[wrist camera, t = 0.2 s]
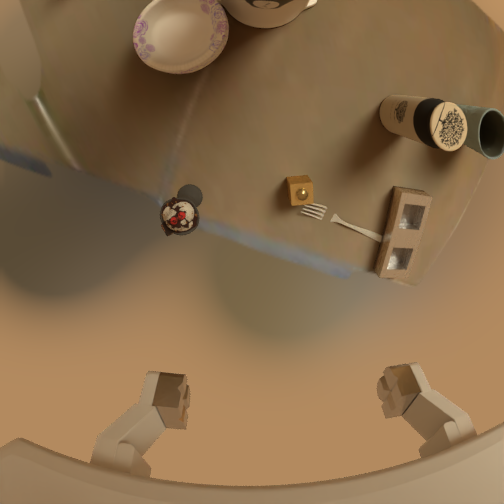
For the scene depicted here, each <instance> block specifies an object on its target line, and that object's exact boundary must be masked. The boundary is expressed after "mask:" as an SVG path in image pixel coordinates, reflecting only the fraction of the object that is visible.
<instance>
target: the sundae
mask: <svg viewBox="0 0 504 504" xmlns="http://www.w3.org/2000/svg"><path fill="white" fill-rule="evenodd" d="M202 198H203V197H202V192H201V191H200V189H199V188H198V187H196V186H194V185H185V186H183V187H182V188H181V189H180V190H179V191H178V198H175V197H173V198H172V199H170V200H168V201H166V202H165V203H164V204H163V206H162V208H161V211H160V219H161V222H162V225H161V227H162V229H163V230H164V232H165V233H166V235H167V236H169V235H171V234H173V233H174V234H177V235H186V234H189V233H191V232H192V231H194V230H195V229H196V227H197V226H198V224H199V213H198V210H197V208H196V207H197V206H199V205H200V203H201V202H202Z"/></svg>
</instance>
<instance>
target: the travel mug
mask: <svg viewBox="0 0 504 504" xmlns="http://www.w3.org/2000/svg"><path fill="white" fill-rule="evenodd" d="M380 119H381V122H382V124H383V125H384V127H385V128H386V129H387V130H388V131H390V132H392V133H395V134H398V135H401V136H404V137H407V138H409V139H412V140H415V141H418V142H420V143H423V144H426V145H428V146H431V147H433V148H441V149H443V150H445V151H454V150H457V149H458V148H460V147H461V145H462V144H463V143H464V141H465V138H466V135H467V121H466V118H465V115H464V113H463V112H462V110H461V109H460V108H459V107H458V106H457V105H455V104H454V103H451V102H445V101H443V100H440V99H434V98H426V97H416V96H405V95H391V96H388V97H387V98H385V99H384V101H383V102H382V104H381V106H380Z"/></svg>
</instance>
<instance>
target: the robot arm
mask: <svg viewBox="0 0 504 504" xmlns="http://www.w3.org/2000/svg"><path fill="white" fill-rule="evenodd" d="M217 1H218V2H219V3H220V4H222V5H223V6H224V7H225V8H226V10H227V11H228V12H229V13H230V15H231V16H233V17H234V18H235V19H236V20H238V21H239V22H241V23H243V24H246V25H249V26H252V27H257V28H273V27H278V26H282V25H284V24H287V23H289V22H290V21H292V20H293V19H294V18H296V17H297V16H298V15H299V13H300V12H302V11H303V10H305V9H308V8H310V7H313V6H314V5H315V4H316V2H317V0H217ZM383 373H384V376H383V377H381V378H380V379H379V381H378V383H377V393H378V397H379V399H380V400H382V401H383V404H382V409H383V412H384V415H385V418H392V417H397V416H402V417H403V418H404V419H405V420H406V421H407V422H408V423H409V424H410V425H411V426H412V427H413V428H414V429H415V430H416V431H417V432H418V433H419V434H420V435H421V436H422V437H423V438H424V439H425V440H426V442H425V443H424V444H423V445H422V446H421V447H420V448H419V452H420V456H421V458H420V459H417V460H414V461H410V462H407V463H404V464H400V465H397V466H393V467H390V468H386V469H382V470H378V471H374V472H369V473H365V474H360V475H355V476H350V477H344V478H338V479H332V480H326V481H318V482H310V483H300V484H288V485H271V486H223V485H206V484H194V483H184V482H176V481H169V480H162V479H156V478H150V473H151V467H150V466H149V465H148V464H147V462H146V461H145V460H144V459H143V458H142V456H143V455H144V453H145V452H146V451H147V450H148V449H149V448H150V446H151V445H152V444H153V443H154V442H155V441H156V439H158V437H159V436H160V435H161V434H162V433H163V432H164V431H165V429H166V428H174V429H186V426H187V419H188V414H187V411H186V409H187V408H188V407H189V404H190V389H189V386H188V385H187V377H186V375H185V374H174V373H164V372H156V371H148V373H147V374H146V378H145V381H144V385H143V389H142V392H141V396H140V400H139V404H134V405H133V406H132V407H131V408H130V409H128V410H127V411H126V412H125V413H124V414H123V415H121V416H120V417H119V418H118V419H117V420H116V421H115V422H114V423H112V424H111V425H110V426H109V427H108V428H106V429H105V430H104V431H103V432H102V433H101V434H99V435H98V436H97V440H96V443H95V447H94V450H93V454H92V458H91V461H90V463H87V462H84V461H81V460H78V459H75V458H72V457H68V456H66V455H63V454H60V453H58V452H55V451H52V450H50V449H47V448H45V447H42V446H40V445H38V444H35V443H33V442H31V441H29V440H26V439H23V438H17V439H14V440H13V441H11V442H9V443H7V444H6V445H4V446H2V447H1V448H0V504H504V422H503V423H501V424H499V425H497V426H495V427H493V428H491V429H489V430H488V431H485V432H484V433H481V434H480V435H477V433H476V431H475V429H474V426H473V424H472V422H471V420H470V417H469V415H468V414H467V413H466V412H465V411H463V410H462V409H460V408H459V407H458V406H456V405H455V404H453V403H452V402H451V401H449V400H448V399H446V398H445V397H444V396H442V395H441V394H440V393H438V392H437V391H435V390H431V388H430V386H429V384H428V382H427V379H426V377H425V375H424V373H423V371H422V369H421V367H420V365H419V364H418V363H417V362H414V363H409V364H402V365H397V366H390V367H387V368H385V370H384V372H383Z"/></svg>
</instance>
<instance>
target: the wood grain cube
mask: <svg viewBox="0 0 504 504" xmlns="http://www.w3.org/2000/svg"><path fill="white" fill-rule="evenodd" d="M286 178H287V190H288V198H289V200H290V203H291V206H295V205H305V204H314V202H313V182H312V181H311V180H310V178H309V177H308V175H303V176H291V177H286Z"/></svg>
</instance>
